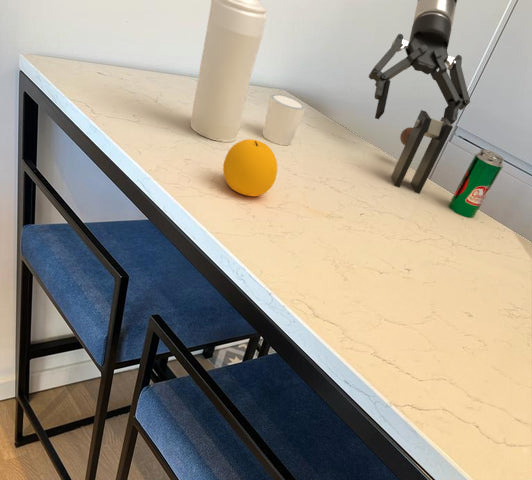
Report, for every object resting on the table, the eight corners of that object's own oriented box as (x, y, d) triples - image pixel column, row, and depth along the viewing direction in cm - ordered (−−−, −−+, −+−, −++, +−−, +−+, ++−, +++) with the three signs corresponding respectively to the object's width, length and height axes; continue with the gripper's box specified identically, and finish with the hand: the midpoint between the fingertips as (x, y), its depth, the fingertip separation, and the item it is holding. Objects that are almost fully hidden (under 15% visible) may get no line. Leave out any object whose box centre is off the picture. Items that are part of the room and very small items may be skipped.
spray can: (252, 151, 99) (299, -12, 83) (196, 145, 93) (235, -31, 78) (225, 123, 106) (264, -33, 90) (172, 116, 100) (204, -51, 85)
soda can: (457, 224, 102) (492, 160, 94) (439, 209, 105) (472, 146, 97) (475, 224, 104) (512, 162, 97) (457, 210, 107) (491, 149, 100)
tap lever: (395, 144, 111) (400, 126, 110) (411, 149, 111) (417, 131, 111) (422, 134, 97) (429, 114, 97) (441, 140, 98) (447, 120, 97)
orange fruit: (277, 206, 85) (293, 158, 80) (227, 200, 81) (241, 150, 77) (259, 180, 90) (273, 134, 85) (212, 174, 86) (224, 125, 82)
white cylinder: (270, 145, 104) (282, 106, 99) (252, 129, 108) (263, 91, 103) (300, 148, 107) (313, 111, 103) (282, 132, 111) (293, 95, 107)
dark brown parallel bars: (378, 175, 109) (410, 102, 101) (416, 187, 110) (451, 116, 102) (385, 197, 101) (421, 120, 93) (426, 209, 103) (465, 134, 94)
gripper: (478, 57, 117) (460, 153, 115) (365, 17, 113) (344, 115, 111) (500, 35, 110) (481, 136, 108) (380, -10, 106) (358, 95, 103)
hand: (412, 126), depth 109 cm, fingers open, 13 cm apart
